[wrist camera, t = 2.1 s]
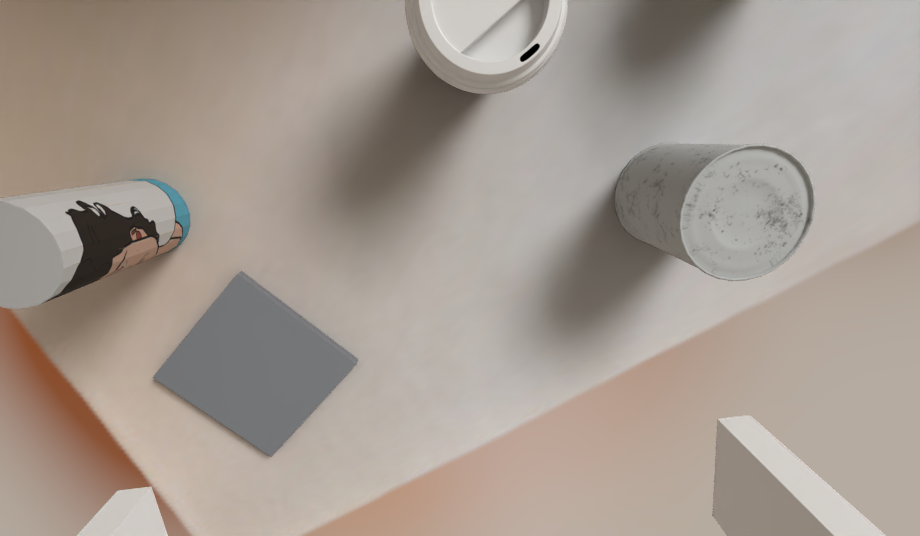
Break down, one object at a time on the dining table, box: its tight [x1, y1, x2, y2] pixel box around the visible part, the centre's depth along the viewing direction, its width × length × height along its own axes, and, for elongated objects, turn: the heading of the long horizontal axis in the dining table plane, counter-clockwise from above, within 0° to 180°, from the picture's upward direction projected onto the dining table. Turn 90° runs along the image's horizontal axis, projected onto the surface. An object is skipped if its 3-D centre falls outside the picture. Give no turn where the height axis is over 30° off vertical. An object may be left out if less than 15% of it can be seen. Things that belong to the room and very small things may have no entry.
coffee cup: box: [405, 0, 568, 94], centre depth 33 cm, size 10×10×15 cm
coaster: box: [153, 271, 358, 457], centre depth 46 cm, size 14×14×1 cm
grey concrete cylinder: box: [615, 143, 815, 281], centre depth 38 cm, size 10×10×12 cm
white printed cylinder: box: [0, 179, 190, 309], centre depth 35 cm, size 7×7×15 cm
